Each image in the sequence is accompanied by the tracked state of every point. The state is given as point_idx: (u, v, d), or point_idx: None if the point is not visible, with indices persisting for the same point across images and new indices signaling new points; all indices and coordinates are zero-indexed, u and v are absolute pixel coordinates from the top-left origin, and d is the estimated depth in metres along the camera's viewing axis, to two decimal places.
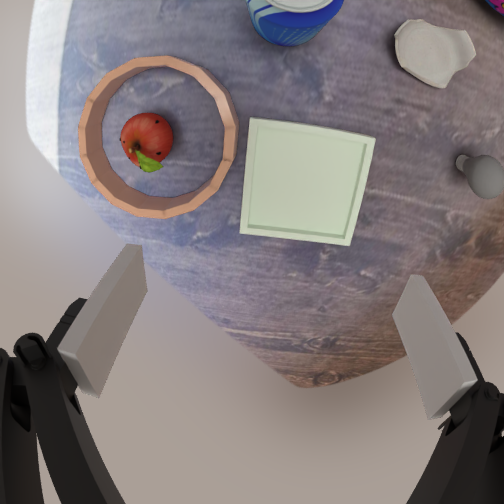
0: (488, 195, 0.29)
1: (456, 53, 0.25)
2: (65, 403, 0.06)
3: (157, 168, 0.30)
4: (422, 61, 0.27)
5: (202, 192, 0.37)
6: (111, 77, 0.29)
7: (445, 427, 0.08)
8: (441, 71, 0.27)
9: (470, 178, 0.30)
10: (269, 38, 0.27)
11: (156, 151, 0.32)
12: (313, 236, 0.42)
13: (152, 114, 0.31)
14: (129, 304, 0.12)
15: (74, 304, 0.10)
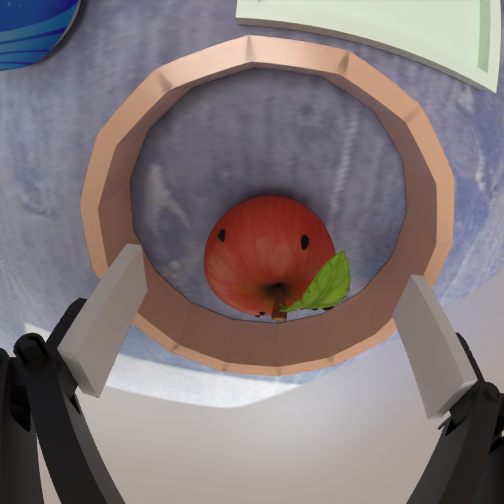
0: None
1: None
2: (65, 403, 0.06)
3: (344, 266, 0.10)
4: None
5: (420, 145, 0.12)
6: None
7: (445, 427, 0.08)
8: None
9: None
10: (46, 14, 0.09)
11: (297, 248, 0.13)
12: None
13: (208, 241, 0.15)
14: (129, 304, 0.12)
15: (74, 304, 0.10)
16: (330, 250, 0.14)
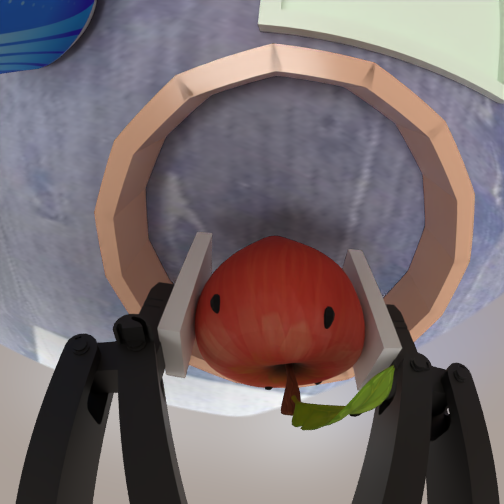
0: None
1: None
2: (159, 391, 0.07)
3: (388, 378, 0.06)
4: None
5: (443, 161, 0.11)
6: None
7: None
8: None
9: None
10: (61, 15, 0.09)
11: (319, 327, 0.09)
12: None
13: (198, 303, 0.12)
14: None
15: (155, 288, 0.12)
16: (359, 321, 0.10)
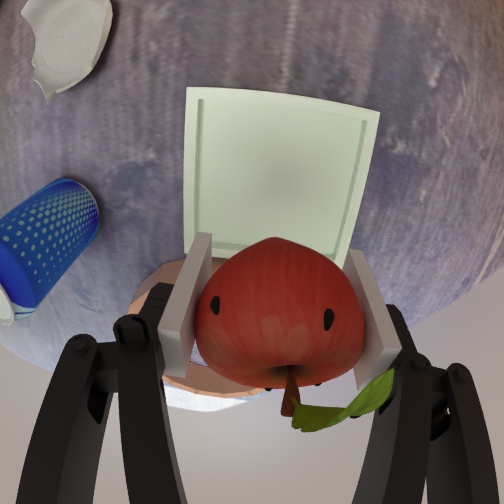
0: None
1: (59, 2, 0.15)
2: (159, 390, 0.07)
3: (388, 380, 0.06)
4: (80, 42, 0.18)
5: None
6: None
7: None
8: (87, 11, 0.17)
9: None
10: (86, 241, 0.27)
11: (318, 329, 0.09)
12: (359, 172, 0.24)
13: (198, 304, 0.11)
14: (203, 288, 0.14)
15: (155, 288, 0.12)
16: (359, 322, 0.10)
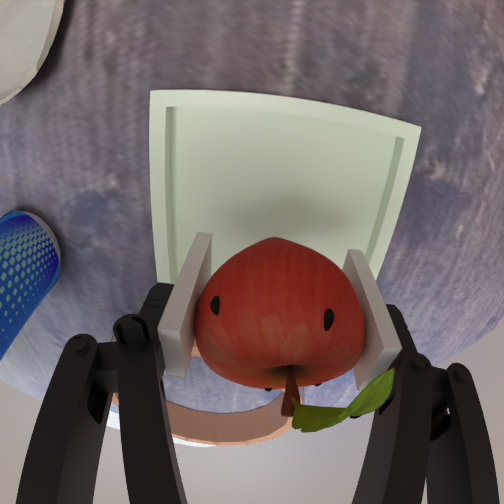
0: None
1: None
2: (159, 390, 0.07)
3: (388, 380, 0.06)
4: (25, 38, 0.11)
5: None
6: None
7: None
8: None
9: None
10: (45, 289, 0.21)
11: (318, 329, 0.09)
12: (389, 208, 0.18)
13: (198, 304, 0.11)
14: (203, 288, 0.14)
15: (155, 288, 0.12)
16: (359, 322, 0.10)
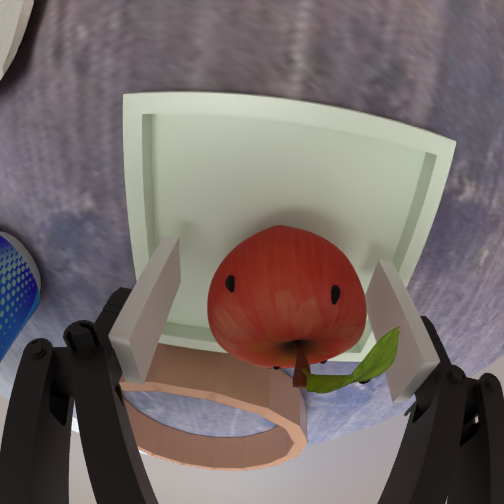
0: None
1: None
2: (113, 394, 0.07)
3: (394, 340, 0.07)
4: None
5: (270, 419, 0.20)
6: None
7: (411, 414, 0.09)
8: None
9: None
10: (23, 318, 0.17)
11: (326, 303, 0.10)
12: (414, 238, 0.14)
13: (211, 285, 0.12)
14: (168, 294, 0.13)
15: (116, 293, 0.11)
16: (362, 300, 0.11)
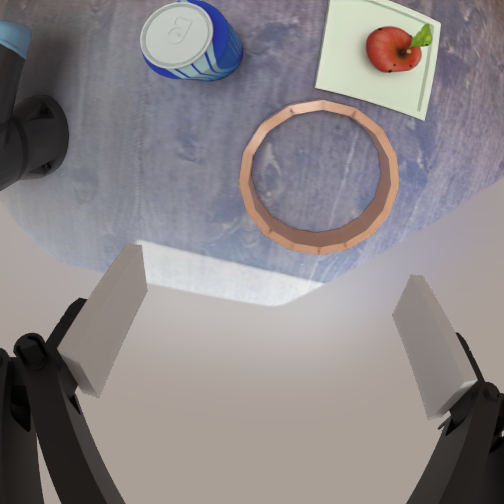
0: None
1: None
2: (65, 403, 0.06)
3: (429, 29, 0.21)
4: None
5: (381, 143, 0.34)
6: (252, 208, 0.40)
7: (445, 427, 0.08)
8: None
9: None
10: (235, 64, 0.31)
11: (409, 35, 0.24)
12: (432, 53, 0.28)
13: (370, 35, 0.26)
14: (129, 304, 0.12)
15: (74, 304, 0.10)
16: None
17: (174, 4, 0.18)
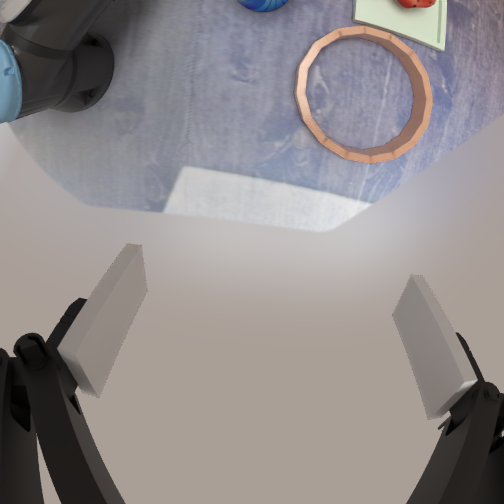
0: None
1: None
2: (65, 403, 0.06)
3: None
4: None
5: (414, 63, 0.32)
6: (309, 117, 0.39)
7: (445, 427, 0.08)
8: None
9: None
10: None
11: None
12: None
13: None
14: (129, 304, 0.12)
15: (74, 304, 0.10)
16: None
17: None
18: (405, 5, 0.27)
